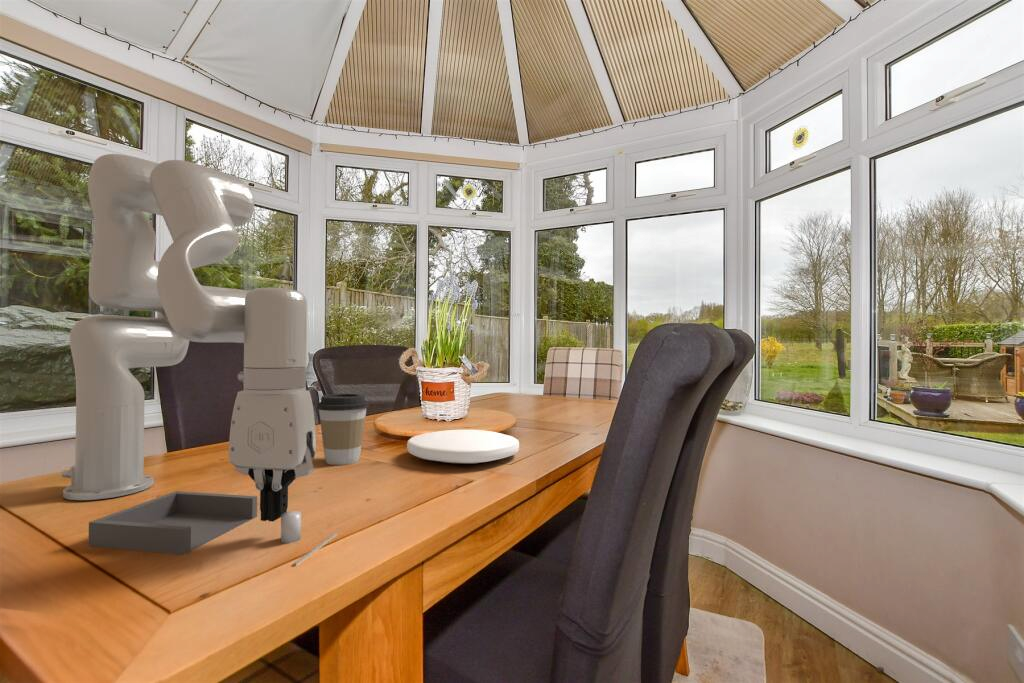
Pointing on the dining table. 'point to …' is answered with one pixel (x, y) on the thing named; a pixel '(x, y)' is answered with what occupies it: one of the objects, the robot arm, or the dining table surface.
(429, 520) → the dining table surface
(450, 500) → the dining table surface
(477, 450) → the white round disc
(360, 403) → the coffee cup
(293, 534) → the cover plate
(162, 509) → the dark box
